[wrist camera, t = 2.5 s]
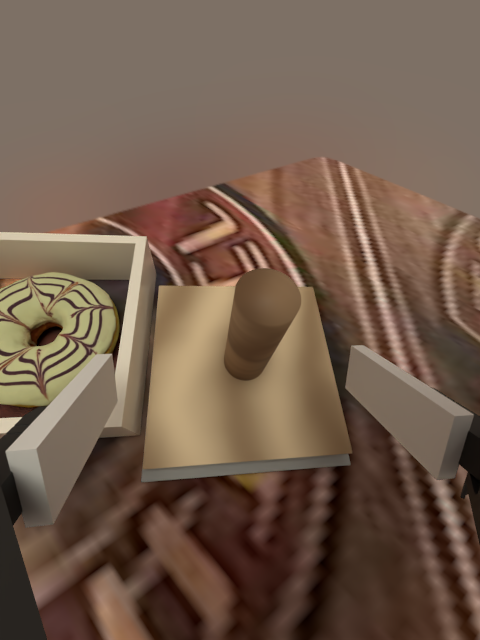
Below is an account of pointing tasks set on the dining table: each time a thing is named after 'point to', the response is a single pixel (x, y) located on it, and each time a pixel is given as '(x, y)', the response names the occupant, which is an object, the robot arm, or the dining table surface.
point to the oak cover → (241, 376)
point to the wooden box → (97, 264)
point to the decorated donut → (68, 348)
